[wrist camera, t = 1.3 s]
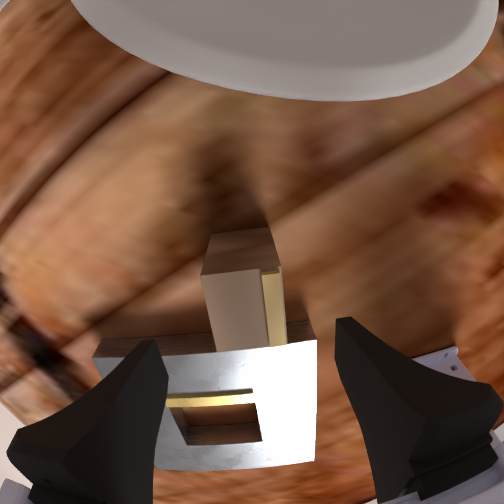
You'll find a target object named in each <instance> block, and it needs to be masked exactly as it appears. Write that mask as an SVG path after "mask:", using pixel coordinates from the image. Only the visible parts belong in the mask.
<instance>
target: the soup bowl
mask: <svg viewBox="0 0 504 504" xmlns="http://www.w3.org/2000/svg"><path fill="white" fill-rule="evenodd" d="M71 2H72V3H73V5H74V6H75V7H76V9H77V10H78V12H79V13H80V14H81V15H82V17H83V18H84V19H85V20H86V21H87V22H88V23H89V24H90V25H91V26H92V27H93V28H94V29H96V30H97V31H98V32H99V33H101V34H102V35H103V36H104V37H106V38H107V39H108V40H109V41H111V42H113V43H114V44H116V45H117V46H119V47H121V48H122V49H124V50H125V51H127V52H129V53H131V54H133V55H135V56H137V57H139V58H141V59H143V60H145V61H147V62H149V63H151V64H153V65H156V66H158V67H161V68H163V69H166V70H168V71H171V72H173V73H176V74H179V75H182V76H186V77H189V78H192V79H195V80H198V81H201V82H204V83H209V84H213V85H217V86H221V87H224V88H228V89H232V90H238V91H243V92H249V93H254V94H259V95H265V96H273V97H281V98H288V99H298V100H313V101H362V100H377V99H383V98H390V97H397V96H402V95H406V94H410V93H414V92H418V91H421V90H424V89H426V88H429V87H432V86H435V85H437V84H439V83H441V82H443V81H445V80H447V79H449V78H451V77H453V76H454V75H456V74H457V73H458V72H460V71H461V70H463V69H464V68H465V67H467V66H468V65H469V64H470V63H471V62H472V61H473V60H474V59H475V58H476V57H477V56H478V55H479V54H480V52H481V51H482V50H483V48H484V47H485V46H486V44H487V42H488V40H489V38H490V36H491V34H492V32H493V29H494V26H495V23H496V19H497V13H498V0H71Z"/></svg>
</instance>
